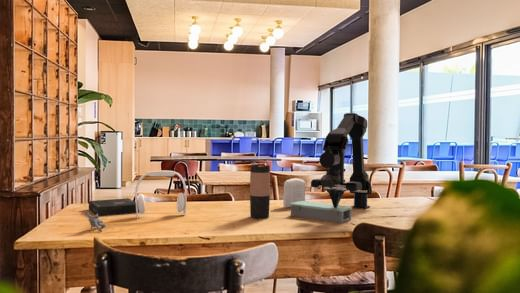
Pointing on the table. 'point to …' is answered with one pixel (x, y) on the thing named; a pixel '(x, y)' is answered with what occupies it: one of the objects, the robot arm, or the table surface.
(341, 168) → the robot arm
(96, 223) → the elephant figurine
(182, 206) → the headset
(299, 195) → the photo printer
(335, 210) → the duct cover
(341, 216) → the cable duct
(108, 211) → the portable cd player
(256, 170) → the travel mug
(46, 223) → the table surface
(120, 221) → the table surface
